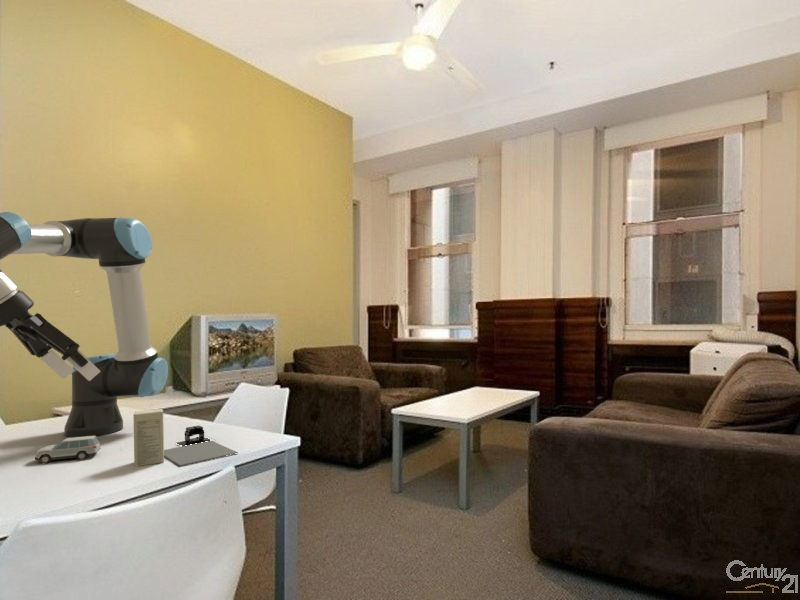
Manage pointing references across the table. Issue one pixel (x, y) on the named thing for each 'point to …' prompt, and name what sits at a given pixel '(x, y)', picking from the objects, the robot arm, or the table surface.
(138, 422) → the skincare box
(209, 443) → the mat
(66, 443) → the toy car
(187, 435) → the black arched bracket
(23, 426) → the table surface
